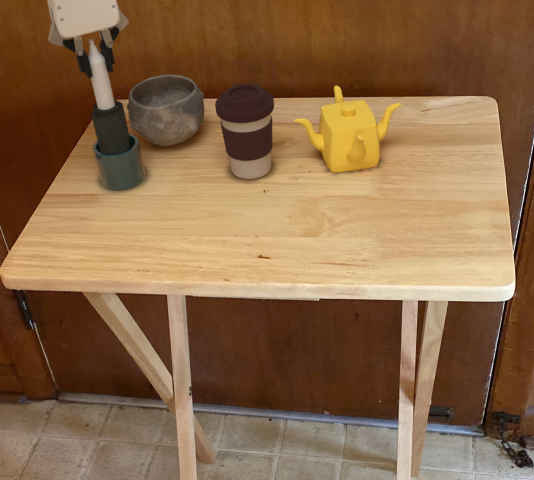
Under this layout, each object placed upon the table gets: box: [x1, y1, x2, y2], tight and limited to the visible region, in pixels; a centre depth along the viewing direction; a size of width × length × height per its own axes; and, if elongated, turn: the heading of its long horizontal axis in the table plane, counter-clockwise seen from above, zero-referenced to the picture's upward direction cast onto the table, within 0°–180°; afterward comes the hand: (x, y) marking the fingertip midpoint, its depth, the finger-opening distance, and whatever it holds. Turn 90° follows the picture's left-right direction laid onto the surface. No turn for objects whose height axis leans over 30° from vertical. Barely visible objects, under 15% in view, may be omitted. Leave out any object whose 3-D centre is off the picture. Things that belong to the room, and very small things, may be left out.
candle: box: [88, 38, 132, 155], centre depth 138 cm, size 5×5×25 cm
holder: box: [92, 132, 146, 191], centre depth 145 cm, size 8×8×7 cm
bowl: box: [126, 74, 205, 147], centre depth 154 cm, size 14×15×10 cm
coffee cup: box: [214, 82, 275, 180], centre depth 141 cm, size 10×10×15 cm
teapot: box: [293, 85, 402, 174], centre depth 144 cm, size 15×14×10 cm
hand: (98, 71), depth 133 cm, fingers closed on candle, 2 cm apart
